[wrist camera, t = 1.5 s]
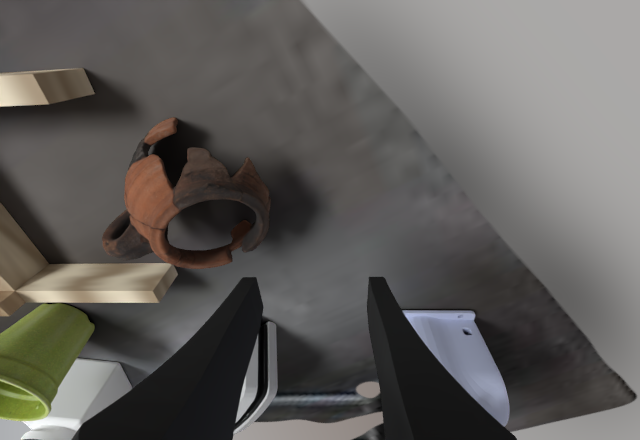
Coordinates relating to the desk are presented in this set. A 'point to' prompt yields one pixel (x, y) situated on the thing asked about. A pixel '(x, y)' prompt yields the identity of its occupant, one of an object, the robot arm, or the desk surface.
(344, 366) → the desk surface
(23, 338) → the plant pot
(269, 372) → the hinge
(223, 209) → the desk surface
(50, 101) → the cradle
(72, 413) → the medicine bottle
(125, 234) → the pottery mug
